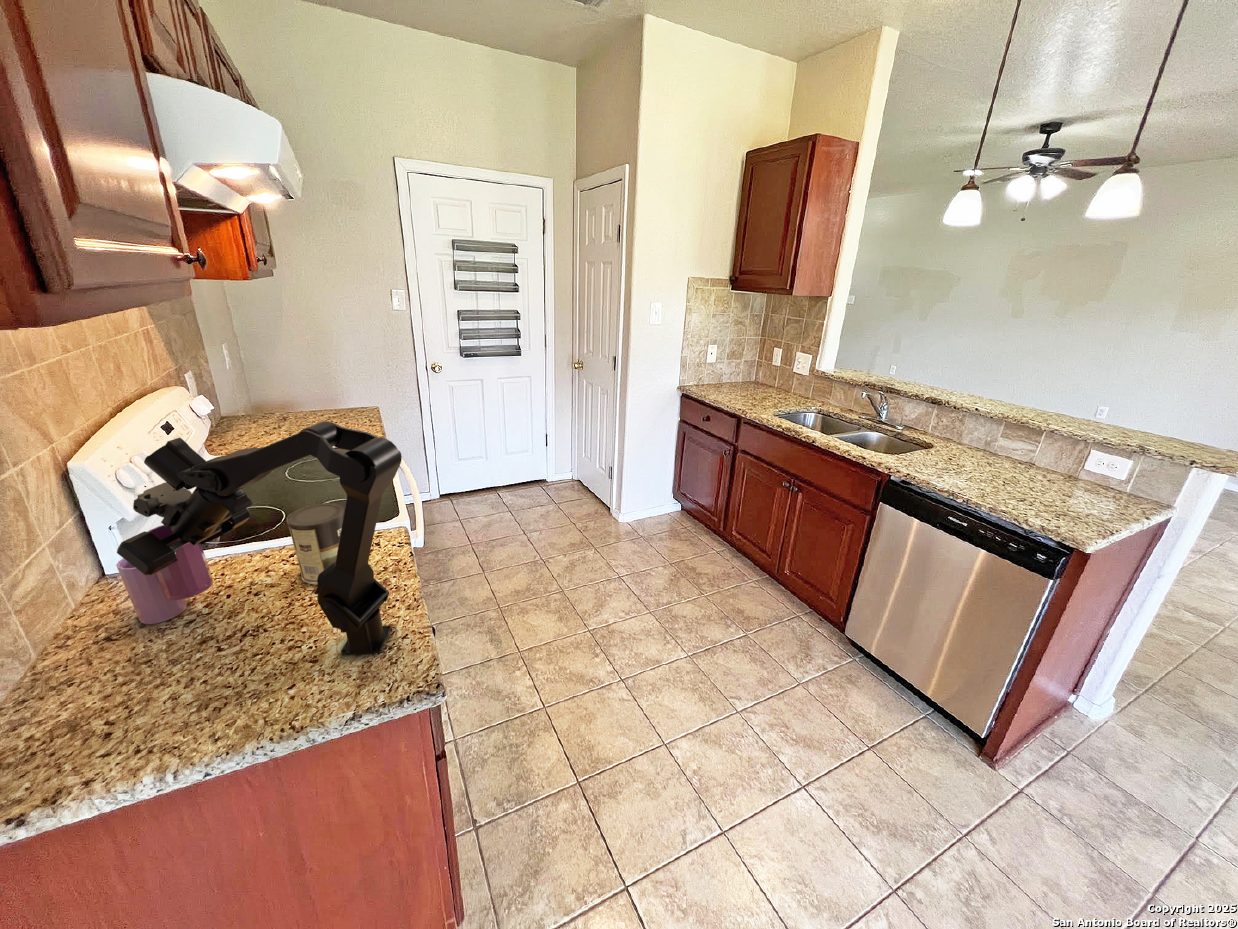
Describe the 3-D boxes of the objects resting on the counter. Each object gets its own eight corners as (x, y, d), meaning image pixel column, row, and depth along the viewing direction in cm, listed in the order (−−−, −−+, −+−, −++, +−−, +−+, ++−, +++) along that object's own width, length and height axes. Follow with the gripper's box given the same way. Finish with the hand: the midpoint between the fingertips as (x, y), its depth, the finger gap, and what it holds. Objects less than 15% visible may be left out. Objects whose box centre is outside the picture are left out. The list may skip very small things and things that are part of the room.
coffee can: (357, 554, 113) (346, 499, 108) (352, 579, 104) (340, 521, 99) (305, 562, 109) (291, 506, 104) (296, 589, 100) (280, 529, 95)
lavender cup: (170, 623, 90) (148, 568, 86) (129, 625, 89) (105, 570, 85) (195, 600, 96) (176, 547, 92) (157, 601, 96) (136, 549, 91)
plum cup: (197, 599, 87) (175, 540, 82) (155, 601, 86) (131, 541, 81) (221, 576, 93) (203, 520, 88) (182, 578, 92) (161, 522, 88)
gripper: (218, 452, 89) (184, 502, 94) (103, 497, 71) (70, 554, 77) (268, 495, 90) (232, 541, 96) (167, 548, 73) (130, 600, 79)
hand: (171, 556), depth 87 cm, fingers closed on plum cup, 7 cm apart
